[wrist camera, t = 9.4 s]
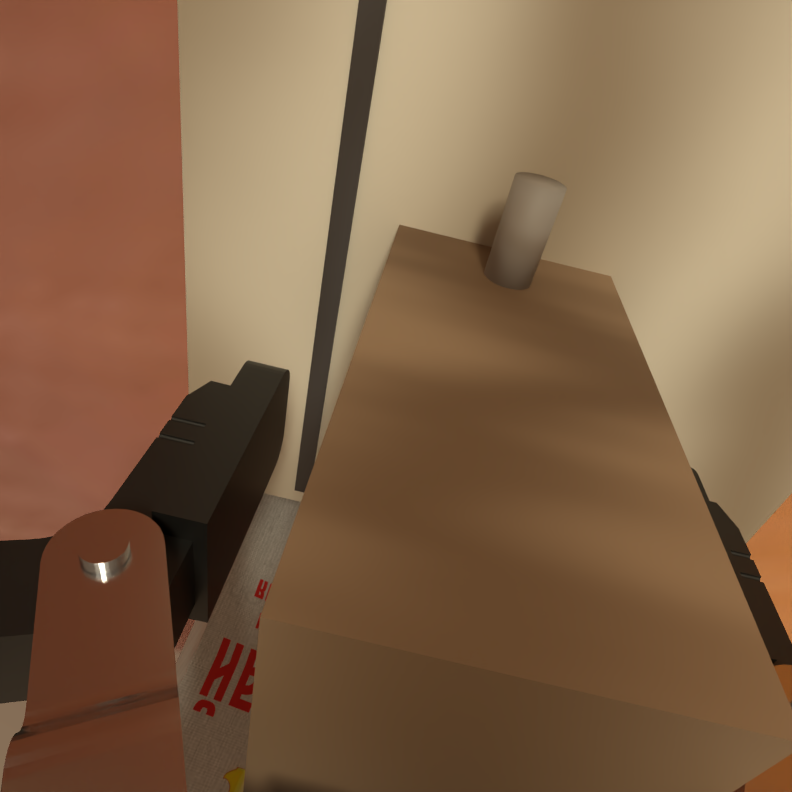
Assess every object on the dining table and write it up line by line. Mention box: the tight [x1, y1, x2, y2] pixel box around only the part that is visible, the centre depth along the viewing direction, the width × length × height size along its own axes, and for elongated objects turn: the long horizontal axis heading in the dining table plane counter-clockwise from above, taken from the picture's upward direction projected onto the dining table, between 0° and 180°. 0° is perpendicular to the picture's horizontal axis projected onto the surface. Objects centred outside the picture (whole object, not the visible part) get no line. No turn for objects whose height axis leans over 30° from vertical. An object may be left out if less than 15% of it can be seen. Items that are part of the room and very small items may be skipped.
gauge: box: [243, 172, 792, 792], centre depth 9 cm, size 4×8×8 cm, turn 169°
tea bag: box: [176, 493, 301, 792], centre depth 15 cm, size 4×7×10 cm, turn 61°
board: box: [177, 0, 792, 543], centre depth 10 cm, size 14×20×2 cm
